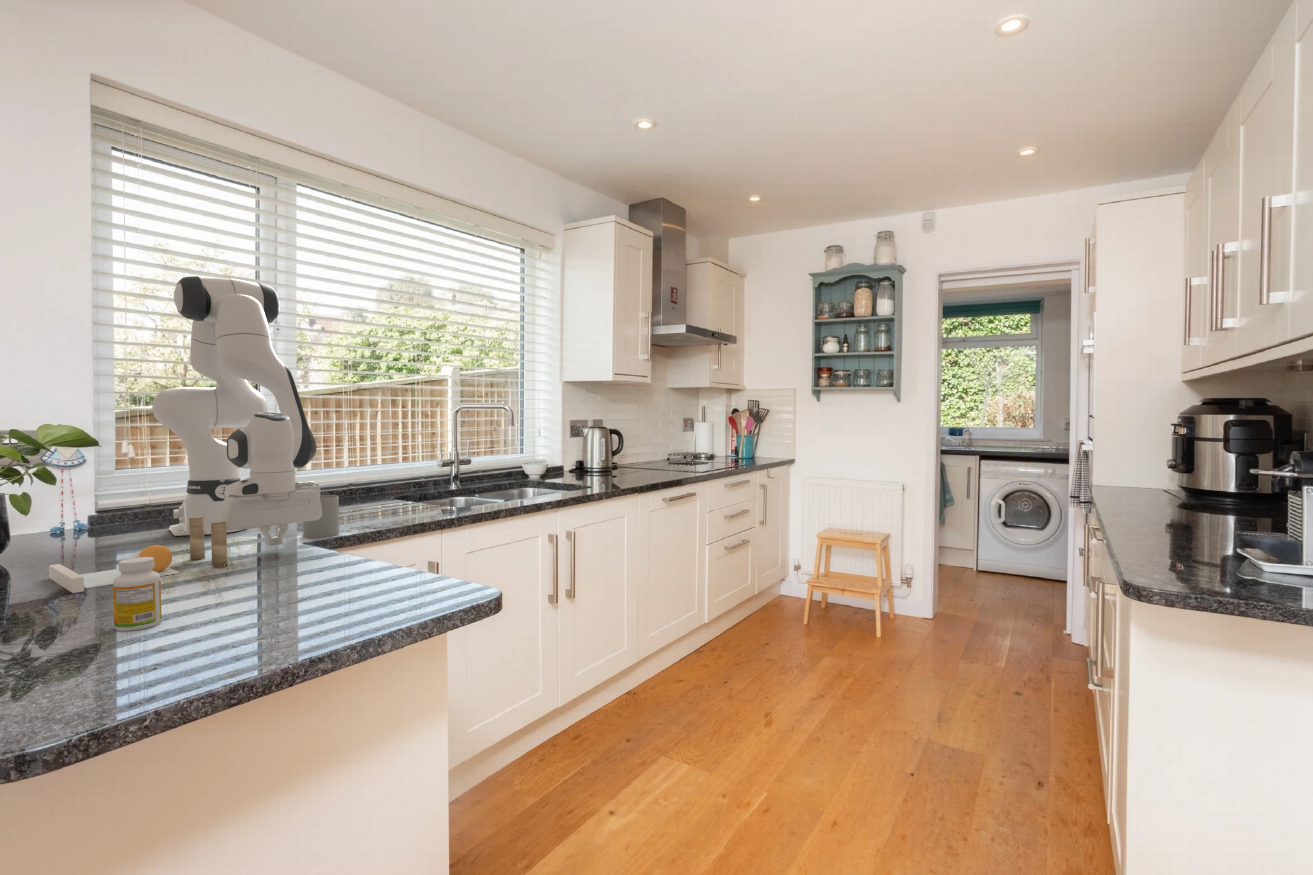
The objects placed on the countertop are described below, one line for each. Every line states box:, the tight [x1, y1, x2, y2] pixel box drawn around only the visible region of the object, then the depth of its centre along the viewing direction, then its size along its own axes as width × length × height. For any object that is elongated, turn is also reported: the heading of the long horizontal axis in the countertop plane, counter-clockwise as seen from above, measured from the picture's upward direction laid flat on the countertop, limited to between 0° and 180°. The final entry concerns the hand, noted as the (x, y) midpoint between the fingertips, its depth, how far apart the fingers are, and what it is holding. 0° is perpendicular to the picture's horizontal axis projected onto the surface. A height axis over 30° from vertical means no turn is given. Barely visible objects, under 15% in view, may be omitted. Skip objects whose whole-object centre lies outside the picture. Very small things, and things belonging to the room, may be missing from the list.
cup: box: [302, 494, 340, 539], centre depth 168 cm, size 8×8×10 cm
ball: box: [137, 544, 173, 572], centre depth 127 cm, size 5×5×5 cm
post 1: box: [189, 517, 206, 560], centre depth 140 cm, size 3×3×9 cm
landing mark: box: [80, 566, 181, 589], centre depth 125 cm, size 14×14×1 cm
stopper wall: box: [48, 563, 85, 594], centre depth 118 cm, size 18×2×2 cm, turn 53°
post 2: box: [210, 522, 228, 568], centre depth 132 cm, size 3×3×9 cm
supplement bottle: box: [112, 557, 163, 632], centre depth 93 cm, size 5×5×10 cm
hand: (274, 544), depth 146 cm, fingers closed
